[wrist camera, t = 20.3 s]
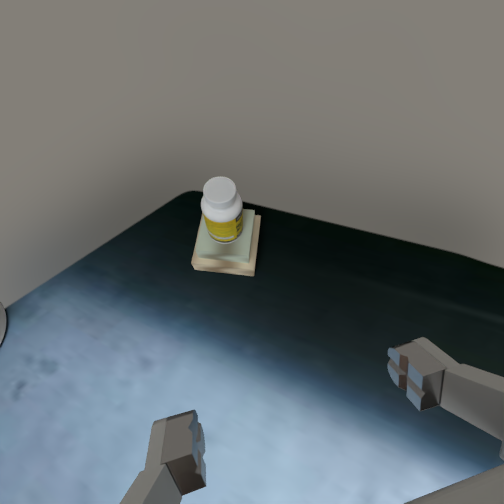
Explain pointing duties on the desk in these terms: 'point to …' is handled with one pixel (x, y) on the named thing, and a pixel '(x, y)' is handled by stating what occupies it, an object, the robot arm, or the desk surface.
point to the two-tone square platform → (228, 249)
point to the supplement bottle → (222, 210)
